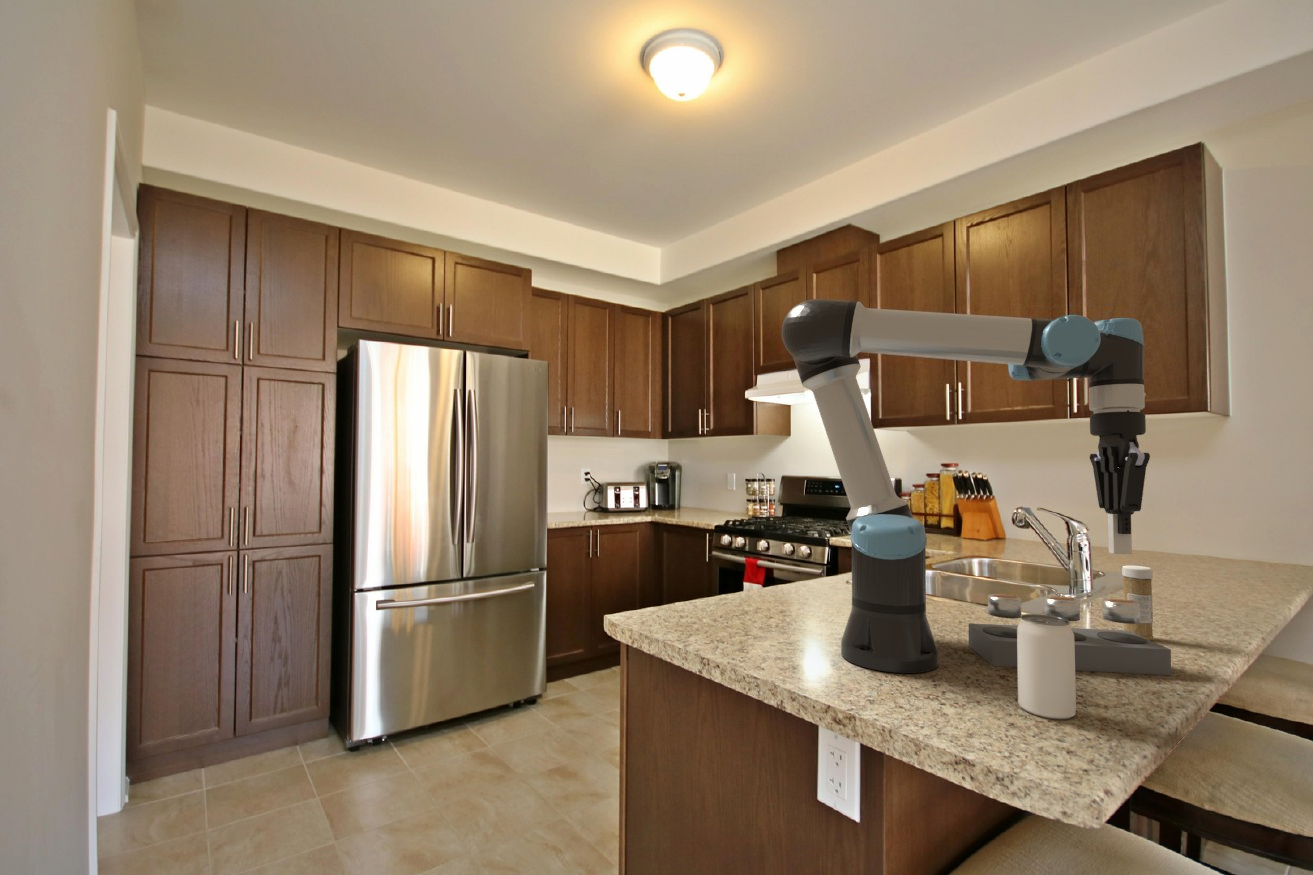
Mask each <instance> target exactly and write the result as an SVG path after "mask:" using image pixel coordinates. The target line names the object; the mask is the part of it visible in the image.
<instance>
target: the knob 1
mask: <svg viewBox="0 0 1313 875" xmlns="http://www.w3.org/2000/svg"><path fill="white" fill-rule="evenodd" d="M1022 611H1023V610H1022V598H1021V597H1020V596H1017V595H1015V594H1013V595H1011V594H1003V593H989V594H987V613H988V615H990V616H991V617H996V618H1002V619H1016V620H1017V619H1021V615H1023V613H1022Z"/></svg>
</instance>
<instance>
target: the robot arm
mask: <svg viewBox="0 0 1313 875" xmlns="http://www.w3.org/2000/svg"><path fill="white" fill-rule="evenodd" d="M781 339H782V343H783V344H784V347H785V349H786V350H787V352H788V353H789V354H790V355H791V356H792V358H793V361H794V363H795V368H796V370H797V373H798V375H799V379H800V382H801V385H802V387H803V388H806V389H808V390H809V391H811V392H812V393H813V396H814V399H815V402H816V406H817V409H818V412H819V415H820V417H821V421H822V423H823V427H824V430H825V433H826V436H827V439H828V442H829V445H830V448H831V452H832V453H833V454H832V455H833V457H834V461H835V464H836V466H837V469H838V472H839V476H840V479H841V481H842V484H843V488H844V491H845V493H846V496H847V500H848V503H849V506H850V510H849V512H848V513H847V516H846V517H845V519H846V523H847V526H848V529H849V532H850V536H849V538H850V541H851V610H850V614H849V616H848V619H847V622H846V625H845V628H844V631H843V635H842V638H841V642H840V652H841V653H840V654H841V656H842V658H844V659H845V660H846V661H848V662H849V663H852V664H854V665H856V666H860V667H863V668H866V669H870V670H875V671H881V672H888V673H897V674H917V673H926V672H929V671H933V670H935V669H936V668H937V667H938V666H939V650H938V647H937V643H936V641H935V637H934V634H933V632H932V630H931V626H930V622H929V620H928V618H927V584H926V583H927V582H926V581H927V580H926V578H927V576H926V574H927V571H926V569H927V568H926V567H927V566H926V565H927V564H926V562H927V560H926V558H927V557H926V556H927V554H926V546H927V542H928V539H927V537H928V536H927V535H926V529H925V528H926V527H925V525H924V524H923V523H922V521H920V520H918V518H914V516H913V515H912V511H911V509H910V505H909V503H908V501H907V500H905V499H903V498H901V497H899V496H898V495H897V493H896V490H895V487H894V485H893V481H892V478H891V476H890V473H889V470H888V467H887V464H886V461H885V458H884V456H883V452H882V449H881V447H880V444H879V441H878V438H877V434H876V432H875V429H874V426H873V423H872V420H871V418H870V415H869V411H868V409H867V406H866V402H865V400H864V397H863V394H862V391H861V389H860V385H859V382H858V380H857V375H858V373H859V371H860V370H861V362H860V360H859V358H858V354H859V353H866V354H867V353H868V354H877V355H879V354H880V355H881V354H882V355H890V356H903V357H917V358H930V359H940V360H953V361H964V362H975V363H976V362H977V363H990V364H1000V365H1001V364H1003V365H1007V366H1008V367H1007V368H1008V373H1009V376H1010V378H1011V379H1013V380H1014V381H1030V382H1035V381H1041V380H1042V381H1044V380H1060V379H1061V380H1063V379H1064V380H1065V379H1088V406H1089V408H1088V409H1089V411H1091V412H1093V413H1092V414H1090V416H1089V434H1090V435H1091V436H1093V437H1094V436H1095V437H1099V439H1098V441H1099V442H1098V444H1097V445H1098V446H1097V449H1098V451H1097V453H1090V455H1089V460H1090V462H1091V466H1092V469H1093V476H1094V483H1095V488H1096V489H1095V490H1096V495H1097V496H1096V497H1097V503H1098V507H1099V508H1100V509H1104V511H1105V513H1106V514H1107V526H1108V527H1107V528H1108V529H1107V530H1108V531H1107V534H1108V539H1107V540H1108V553H1109V554H1112V555H1113V554H1114V555H1115V554H1116V555H1132V554H1133V548H1132V546H1133V545H1132V544H1133V542H1132V541H1133V539H1132V515H1133V514H1134V513H1135V512H1140V511H1141V510H1142V502H1143V496H1144V487H1145V480H1146V474H1147V473H1146V471H1147V466H1148V463H1149V461H1150V460H1151V454H1150V453H1149V452H1142V451H1141V450H1140V449H1139V448H1140V445H1139V444H1140V443H1139V440H1138V437H1137V436H1143V435H1145V434H1146V431H1147V425H1146V414H1145V413H1144V412H1143V411H1142V412H1141V410H1144V409H1145V408H1146V407H1145V406H1146V404H1145V402H1146V400H1145V397H1146V396H1147V393H1146V392H1145V345H1146V344H1145V341H1144V331H1143V325H1142V323H1141V322H1140V321H1139V319H1137V318H1136V319H1135V318H1131V317H1117V318H1116V317H1115V318H1111V319H1103V320H1102V319H1101V320H1096V321H1093V320H1091V319H1089V318H1088V317H1087V316H1083V315H1079V314H1068V315H1064V316H1059V317H1058V318H1055V319H1052V318H1051V319H1049V318H1029V317H1014V316H998V315H984V314H983V315H981V314H978V315H977V314H968V313H967V314H966V313H952V312H951V313H949V312H934V311H918V310H904V309H903V310H902V309H886V308H885V309H883V308H868V307H865V306H864V305H863V304H862V302H861V301H855V300H854V301H853V300H841V299H840V300H838V299H831V298H830V299H829V298H828V299H827V298H825V299H824V298H812V299H808V300H804V301H802V302H800V303H797V304H796V305H794V306H793V307H792V308H791V309H790V310H789V311H788V313H787V314H786V316H785V317H784V320H783V322H782V327H781Z"/></svg>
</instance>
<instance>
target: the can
mask: <svg viewBox="0 0 1313 875" xmlns="http://www.w3.org/2000/svg"><path fill="white" fill-rule="evenodd" d="M1017 626H1018V627H1017V665H1018V667H1017V702H1018V706H1020V708H1021V709H1022V710H1024V711H1025V712H1026V713H1028V714H1030V715H1033V716H1036V717H1040V718H1044V719H1050V720H1055V721H1056V720H1058V721H1059V720H1060V721H1061V720H1062V721H1063V720H1070V719H1072V718H1073V717H1074V716H1075V715H1076V714H1077V712H1076V711H1077V710H1076V709H1077V708H1076V707H1077V706H1076V702H1077V701H1076V699H1077V698H1076V695H1077V694H1076V670H1075V643H1074V633H1073V631H1072V630H1071V628H1072V627H1071V621H1068V620H1066V619H1063V618H1059V617H1055V616H1049V615H1045V614H1037V613H1026V614H1022V615H1021V618H1020V621H1019V623H1018V625H1017Z"/></svg>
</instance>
